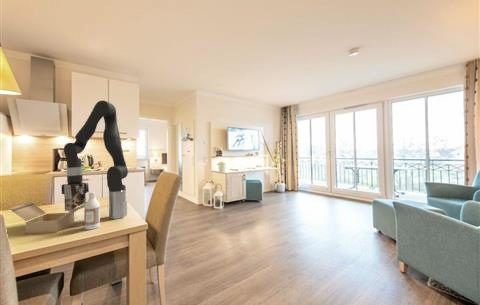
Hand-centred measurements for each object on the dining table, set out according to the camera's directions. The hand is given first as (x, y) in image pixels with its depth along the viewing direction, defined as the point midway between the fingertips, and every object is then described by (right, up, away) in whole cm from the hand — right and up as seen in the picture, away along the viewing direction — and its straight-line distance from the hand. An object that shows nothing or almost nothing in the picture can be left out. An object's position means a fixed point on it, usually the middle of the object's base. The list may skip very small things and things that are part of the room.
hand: (75, 200), depth 126 cm
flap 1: (-8, -5, -16) cm, 19 cm away
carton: (-1, -12, -15) cm, 19 cm away
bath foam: (+21, -12, -14) cm, 28 cm away
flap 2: (+6, -5, -14) cm, 16 cm away
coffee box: (0, -6, 0) cm, 6 cm away
